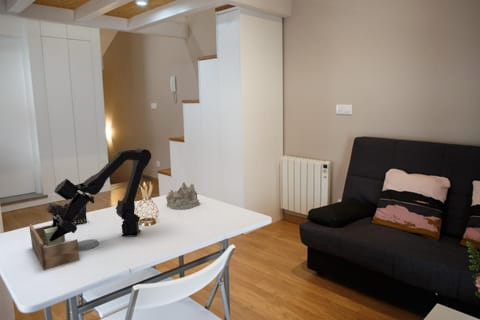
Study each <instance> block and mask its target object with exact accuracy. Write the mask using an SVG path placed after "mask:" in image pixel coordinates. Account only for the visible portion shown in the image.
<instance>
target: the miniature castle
mask: <svg viewBox="0 0 480 320" xmlns="http://www.w3.org/2000/svg"><path fill="white" fill-rule="evenodd" d="M189 185H190V186H187V184H186V182H185V181H183V182H182V184H181V187H180V186H179V189H178V190H175V191H173V189H170V191H169V192H168V194H167V195H166V197H165V199H166V201H167V202H166V203H167V204H166V207H168V208H170V209H171V210H177V211H178V210H179V211H185V210H190V209H193V208H196V207H198V206H200V204H201V203H200V200H199V199H198V193H197V191H196V190H195V186H194V185H195V184H194V183H190V184H189Z"/></svg>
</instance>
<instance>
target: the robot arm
mask: <svg viewBox="0 0 480 320" xmlns="http://www.w3.org/2000/svg"><path fill="white" fill-rule="evenodd" d="M151 159H152V153H151V151H150V150H148V149H145V148H143V147H138V148H136V149H128V150H125V149H124V150H123V149H121V150H119V151H118V153H116V154H115V156H114V157H113V158H112V159H110V161H109V162H108V163H106V165H104V166H103V167H102V168H101V169H100V170H99V171H98V172H96V173H95V174H93V175H91V176H90V177H88V178H87V179H86V180H85V181H83V182H81V183H78V184H74V183H73V182H71V180H69V179H68V178H65V179H64V180H63V181H62V182H60V183H59V184H58V185H56V187H55V189H54V190H53V192H54V193H55V194H57V195H58V196H60V197H61V198H63V199H65V200H66V201H68V200H70V201H69V203H64V205H62V204H58V203H53V202H49V203H48V206H47V208H46V211H47V213H48V214H51V221H52V223H51V225H52V226H51V228H53V227H57V228H56V230H55V231H54V233H53V235H52V236H51V238H50V241H54V240H56V239H57V238H59V237H61V236H63V235H65V236H66V235H67V234H69V233H72V234H75V233H76V231H77V229H78V227H77V225H75V224H74V219H75V218H76V217H77V216H78V215H81V211H82V209H83V208H84V207H85V206H86V207H87V205H88V203H92V204H94V203H95V196H96V195H98V194H99V193H100V192H101V190H102V189H103V187H105V186H104V185H105V184H106V182H107V181H108V179H109V178H110V177H112V175H114V173H115V172H116V171H117V170H118V169H119V168H120V167H121V166H122V165H123V164H124V163H125V162H126V161H132V170H131V174H130V177H129V180H128V183H127V186H126V190H125V193H124V197H123V198H122V200H119V199H118V201H117V204H116V206H115V209H116V210H115V211H116V214H117V216H118V217H120V218H121V220H123V221H122V222H121V223H122V224H121V233H122V235H121V236H122V237H137V236H138V235H139V234H140V232H141V229H140V224H139V222H140V218H141V216H139V215H138V214H136V213H135V211H136V204H135V199H136V196H137V193H138V190H139V186H140V183H141V180H142V176H143V173H144V170H145V169H146V168H147V166H148V165H149V164H150V161H151Z"/></svg>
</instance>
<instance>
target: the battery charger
mask: <svg viewBox="0 0 480 320" xmlns="http://www.w3.org/2000/svg"><path fill="white" fill-rule="evenodd" d="M86 223H88V218H87V205H86V206H85V207H84V208H83V209H82V211H81V215H78V216H77V217H76V218H75V219H74V224H75V225H76V226H77V225H81V224H86Z"/></svg>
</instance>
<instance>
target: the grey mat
mask: <svg viewBox="0 0 480 320" xmlns="http://www.w3.org/2000/svg"><path fill="white" fill-rule="evenodd" d="M99 245H100V241H99V240H98V239H85V240H80V241H78V248H79V251H88V250H92V249H95V248H96V247H98V246H99Z"/></svg>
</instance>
